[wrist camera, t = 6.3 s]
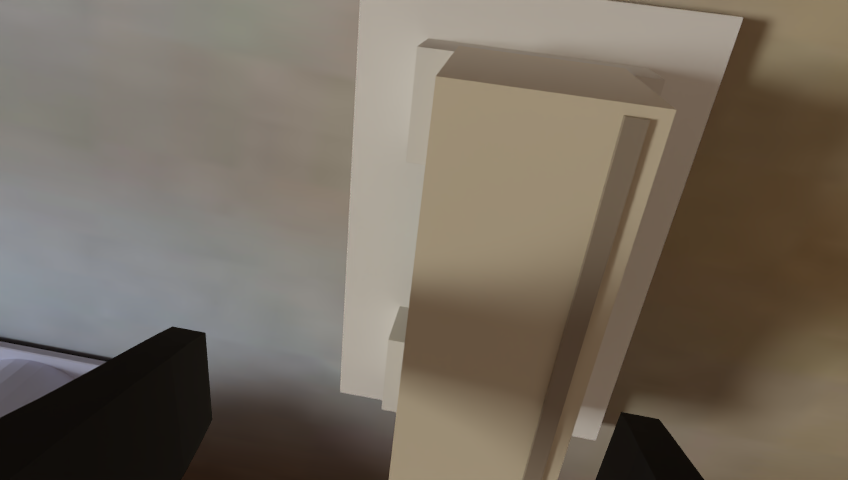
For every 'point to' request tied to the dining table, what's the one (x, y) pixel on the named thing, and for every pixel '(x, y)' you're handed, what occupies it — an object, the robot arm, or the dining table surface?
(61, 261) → the dining table surface
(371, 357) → the display stand
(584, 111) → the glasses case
